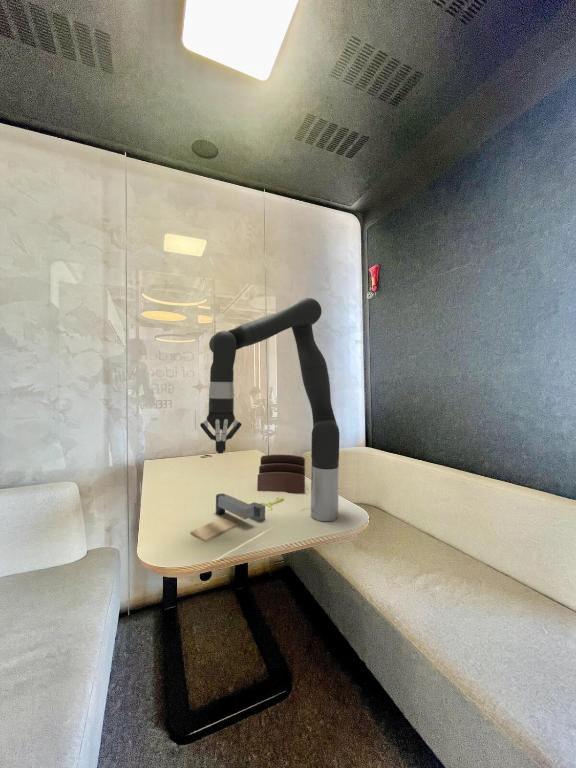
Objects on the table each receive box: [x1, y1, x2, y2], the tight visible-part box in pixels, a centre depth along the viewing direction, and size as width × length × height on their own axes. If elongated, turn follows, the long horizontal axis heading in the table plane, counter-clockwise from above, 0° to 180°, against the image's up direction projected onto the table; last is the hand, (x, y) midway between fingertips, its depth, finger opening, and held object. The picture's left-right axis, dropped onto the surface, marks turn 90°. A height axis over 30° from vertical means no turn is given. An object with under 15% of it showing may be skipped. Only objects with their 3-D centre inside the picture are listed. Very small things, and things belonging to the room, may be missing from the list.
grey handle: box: [215, 493, 254, 520], centre depth 98 cm, size 17×4×6 cm, turn 48°
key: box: [257, 496, 284, 512], centre depth 111 cm, size 7×12×2 cm, turn 155°
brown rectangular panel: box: [190, 517, 238, 543], centre depth 90 cm, size 12×7×1 cm, turn 143°
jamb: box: [249, 501, 266, 523], centre depth 100 cm, size 10×19×5 cm, turn 53°
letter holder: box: [256, 454, 306, 494], centre depth 128 cm, size 10×20×14 cm, turn 88°
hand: (220, 452), depth 92 cm, fingers closed
